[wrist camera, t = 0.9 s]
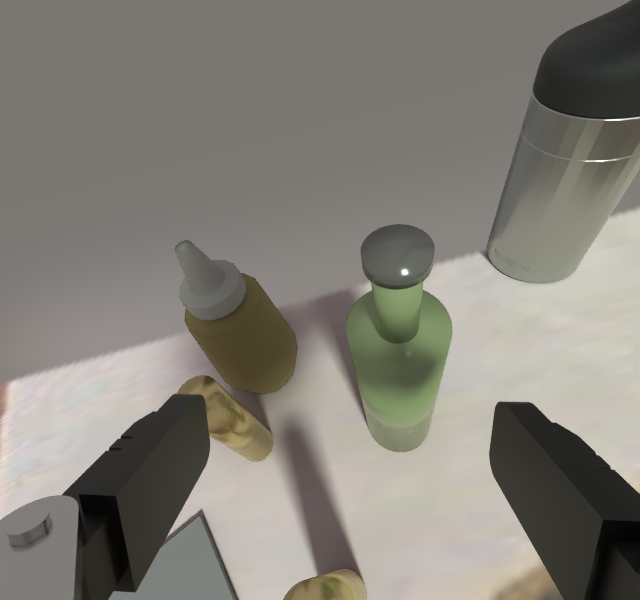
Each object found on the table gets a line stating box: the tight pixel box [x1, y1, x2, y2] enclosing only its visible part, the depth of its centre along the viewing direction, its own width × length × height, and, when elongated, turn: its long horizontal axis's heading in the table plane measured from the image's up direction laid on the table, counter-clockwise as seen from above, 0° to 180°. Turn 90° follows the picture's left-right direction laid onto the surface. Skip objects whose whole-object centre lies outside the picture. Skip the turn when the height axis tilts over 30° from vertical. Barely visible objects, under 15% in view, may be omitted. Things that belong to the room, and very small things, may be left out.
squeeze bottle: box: [175, 240, 297, 394], centre depth 29 cm, size 8×8×18 cm
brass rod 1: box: [177, 376, 273, 462], centre depth 26 cm, size 3×3×12 cm
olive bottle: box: [346, 224, 452, 452], centre depth 22 cm, size 5×5×22 cm
